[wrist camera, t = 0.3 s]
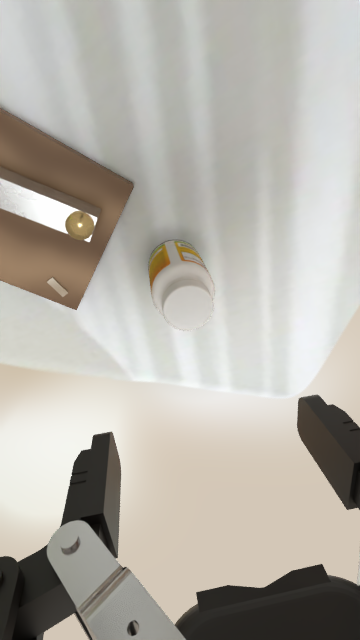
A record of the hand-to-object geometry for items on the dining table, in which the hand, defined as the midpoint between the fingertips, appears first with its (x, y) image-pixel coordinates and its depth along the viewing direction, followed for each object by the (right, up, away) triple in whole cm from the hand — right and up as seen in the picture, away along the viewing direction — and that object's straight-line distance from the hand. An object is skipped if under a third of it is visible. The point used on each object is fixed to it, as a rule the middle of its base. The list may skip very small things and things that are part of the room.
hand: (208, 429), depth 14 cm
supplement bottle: (-2, +10, +19) cm, 22 cm away
